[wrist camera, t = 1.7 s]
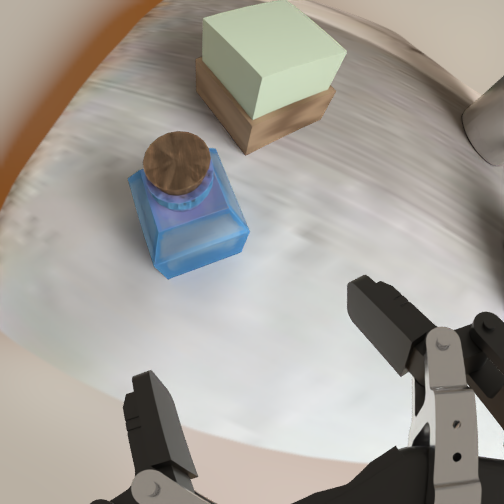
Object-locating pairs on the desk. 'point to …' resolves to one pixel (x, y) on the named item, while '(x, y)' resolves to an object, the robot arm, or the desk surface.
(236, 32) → the tower top block
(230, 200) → the perfume bottle
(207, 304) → the desk surface
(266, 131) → the tower base block
